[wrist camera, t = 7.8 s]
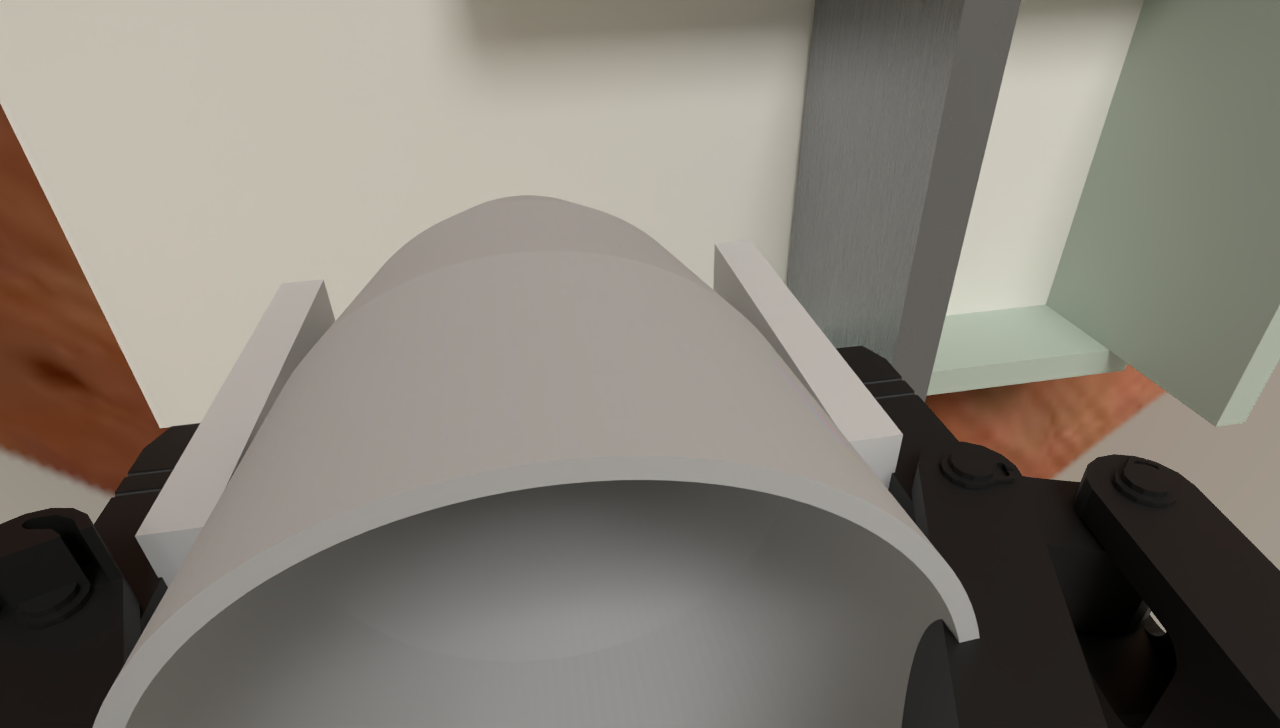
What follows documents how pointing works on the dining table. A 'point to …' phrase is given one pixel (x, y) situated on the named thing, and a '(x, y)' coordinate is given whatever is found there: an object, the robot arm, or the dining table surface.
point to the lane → (648, 164)
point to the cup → (543, 515)
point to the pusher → (893, 167)
